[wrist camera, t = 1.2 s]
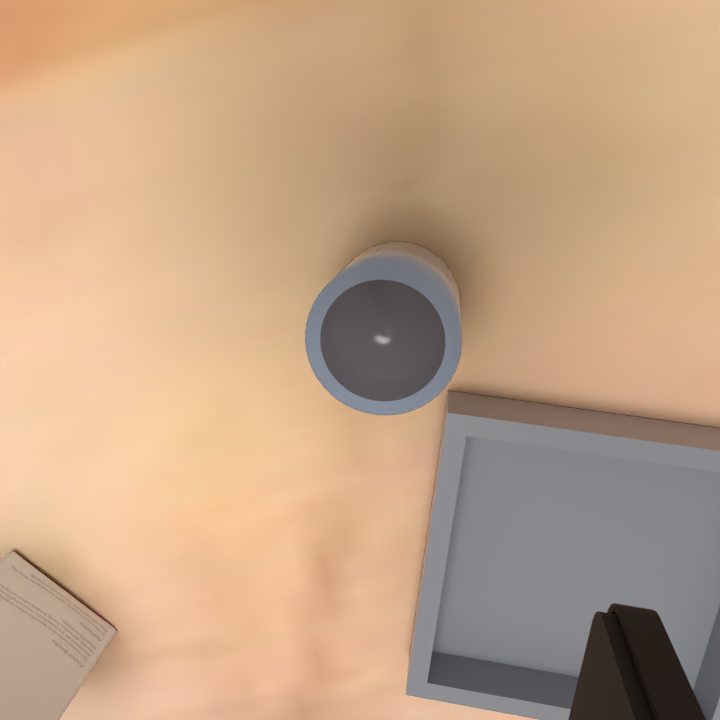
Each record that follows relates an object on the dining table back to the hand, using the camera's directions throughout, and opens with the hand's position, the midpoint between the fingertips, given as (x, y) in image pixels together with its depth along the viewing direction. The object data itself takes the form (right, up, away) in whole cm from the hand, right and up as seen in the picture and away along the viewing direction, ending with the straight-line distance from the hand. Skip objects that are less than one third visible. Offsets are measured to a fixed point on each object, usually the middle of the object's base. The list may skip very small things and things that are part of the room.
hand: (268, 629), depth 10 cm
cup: (+3, +7, +22) cm, 23 cm away
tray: (+13, -6, +24) cm, 28 cm away
